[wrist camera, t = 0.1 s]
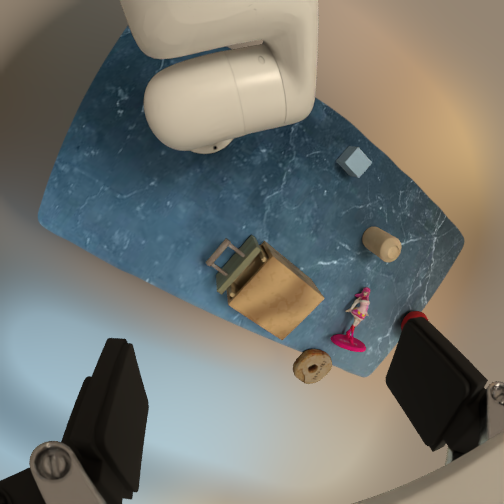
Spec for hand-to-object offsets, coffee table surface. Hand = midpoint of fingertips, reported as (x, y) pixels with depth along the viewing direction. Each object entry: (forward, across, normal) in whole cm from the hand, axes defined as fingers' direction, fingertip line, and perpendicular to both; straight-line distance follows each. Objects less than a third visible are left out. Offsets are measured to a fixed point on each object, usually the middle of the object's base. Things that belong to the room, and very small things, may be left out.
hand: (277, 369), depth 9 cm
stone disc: (+49, -27, +50) cm, 75 cm away
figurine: (+47, -30, +39) cm, 68 cm away
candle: (+52, -34, +12) cm, 63 cm away
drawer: (+50, -6, +18) cm, 54 cm away
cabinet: (+51, -10, +22) cm, 57 cm away
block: (+51, -26, -5) cm, 58 cm away
